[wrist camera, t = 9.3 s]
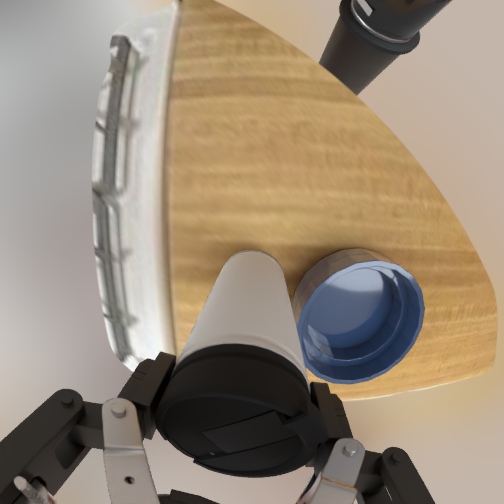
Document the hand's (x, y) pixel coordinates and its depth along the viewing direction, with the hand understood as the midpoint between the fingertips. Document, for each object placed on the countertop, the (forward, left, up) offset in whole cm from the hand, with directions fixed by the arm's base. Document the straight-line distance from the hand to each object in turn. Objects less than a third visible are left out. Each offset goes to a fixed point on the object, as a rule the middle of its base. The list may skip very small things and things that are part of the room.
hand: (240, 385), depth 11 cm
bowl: (+2, +12, -19) cm, 23 cm away
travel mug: (0, 0, -16) cm, 16 cm away
